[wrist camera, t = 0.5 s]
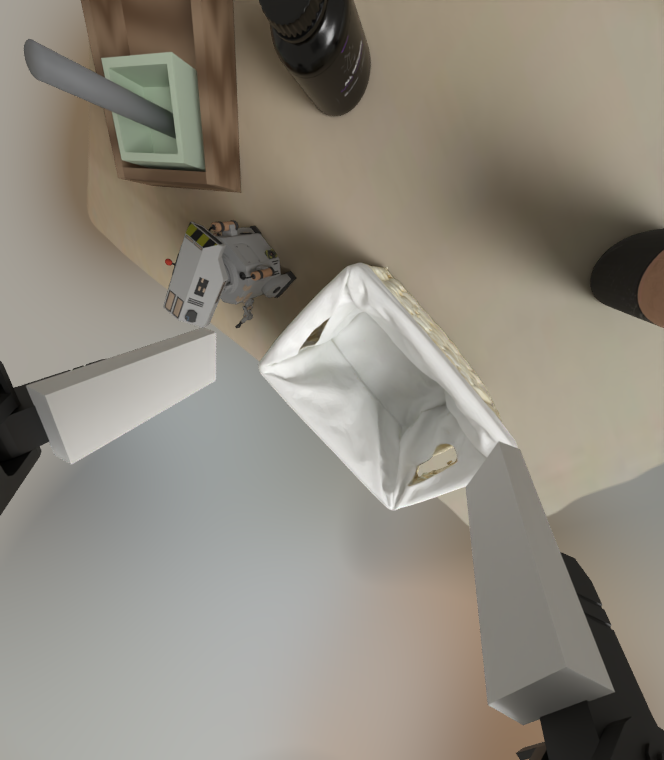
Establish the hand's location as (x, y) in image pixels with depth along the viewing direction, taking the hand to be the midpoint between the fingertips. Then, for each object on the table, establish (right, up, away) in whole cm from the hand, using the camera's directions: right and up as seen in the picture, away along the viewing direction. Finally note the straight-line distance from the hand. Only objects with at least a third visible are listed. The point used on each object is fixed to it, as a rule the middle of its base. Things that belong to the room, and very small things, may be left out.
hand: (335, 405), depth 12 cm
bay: (-19, +37, +22) cm, 47 cm away
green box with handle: (-20, +34, +23) cm, 45 cm away
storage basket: (+9, +4, +27) cm, 29 cm away
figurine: (-11, +17, +29) cm, 35 cm away
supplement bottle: (+1, +33, +16) cm, 37 cm away
